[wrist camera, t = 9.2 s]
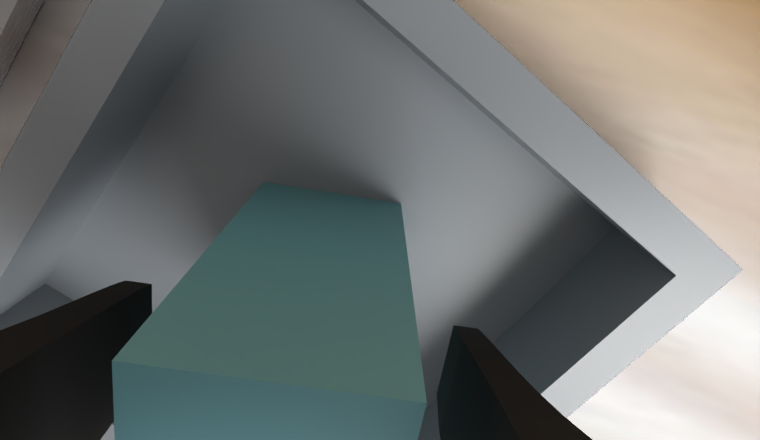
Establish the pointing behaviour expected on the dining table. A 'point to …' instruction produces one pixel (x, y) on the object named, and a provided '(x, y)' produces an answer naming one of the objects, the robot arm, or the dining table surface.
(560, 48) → the dining table surface
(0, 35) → the stud plate
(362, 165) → the bin
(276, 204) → the strut
